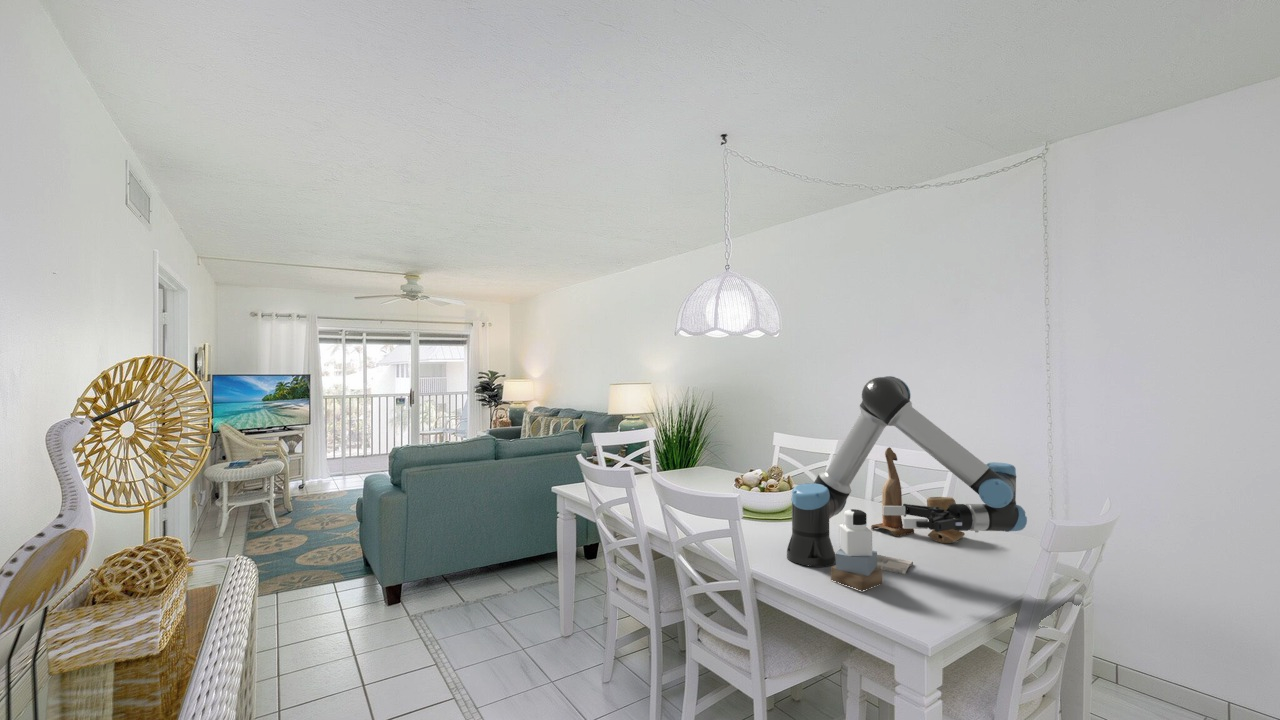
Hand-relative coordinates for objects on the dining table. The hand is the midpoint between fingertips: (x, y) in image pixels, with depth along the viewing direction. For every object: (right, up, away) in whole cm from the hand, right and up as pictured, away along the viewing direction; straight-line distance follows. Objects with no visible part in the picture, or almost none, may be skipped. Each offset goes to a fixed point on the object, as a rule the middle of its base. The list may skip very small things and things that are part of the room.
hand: (892, 516), depth 162 cm
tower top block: (-11, -15, 0) cm, 18 cm away
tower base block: (-11, -19, -1) cm, 22 cm away
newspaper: (+1, -20, +17) cm, 26 cm away
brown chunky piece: (+37, -20, +40) cm, 58 cm away
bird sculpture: (+22, -20, +49) cm, 57 cm away
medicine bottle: (-11, -10, 0) cm, 15 cm away
